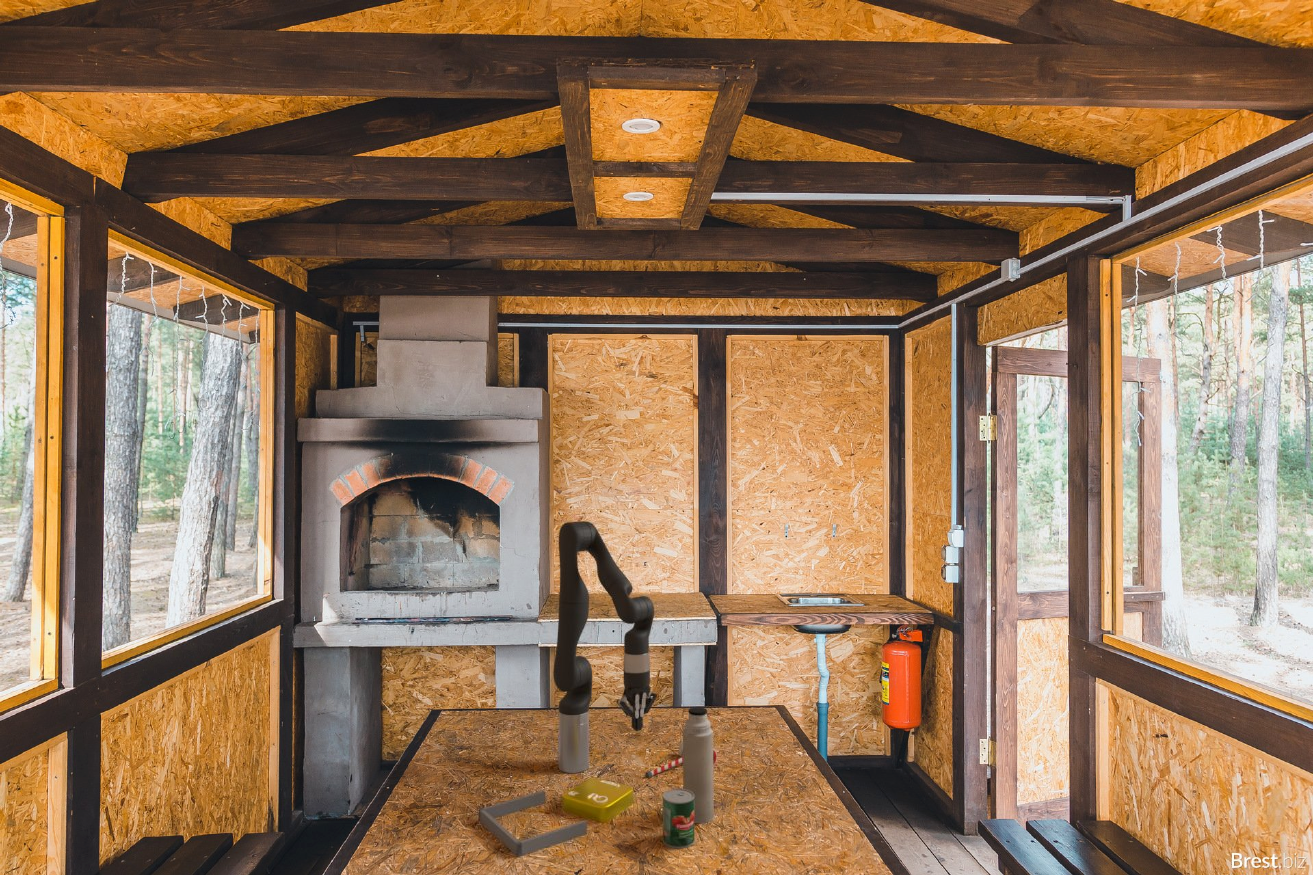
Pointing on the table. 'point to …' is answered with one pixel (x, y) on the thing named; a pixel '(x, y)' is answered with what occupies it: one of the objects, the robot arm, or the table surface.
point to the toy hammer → (675, 762)
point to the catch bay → (532, 843)
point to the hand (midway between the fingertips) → (637, 729)
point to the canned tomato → (678, 818)
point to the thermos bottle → (699, 763)
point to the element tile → (597, 800)
